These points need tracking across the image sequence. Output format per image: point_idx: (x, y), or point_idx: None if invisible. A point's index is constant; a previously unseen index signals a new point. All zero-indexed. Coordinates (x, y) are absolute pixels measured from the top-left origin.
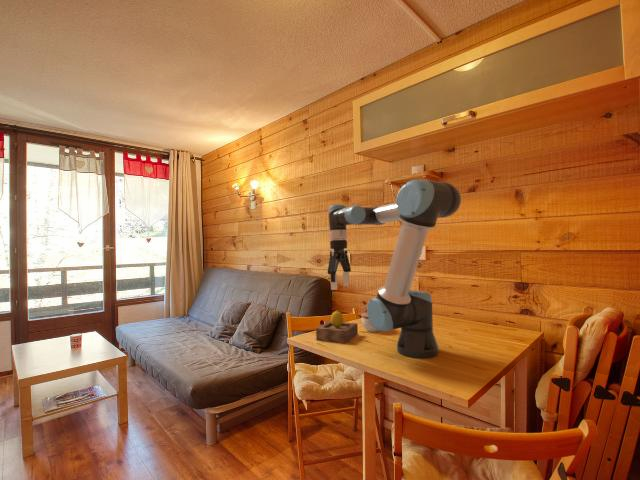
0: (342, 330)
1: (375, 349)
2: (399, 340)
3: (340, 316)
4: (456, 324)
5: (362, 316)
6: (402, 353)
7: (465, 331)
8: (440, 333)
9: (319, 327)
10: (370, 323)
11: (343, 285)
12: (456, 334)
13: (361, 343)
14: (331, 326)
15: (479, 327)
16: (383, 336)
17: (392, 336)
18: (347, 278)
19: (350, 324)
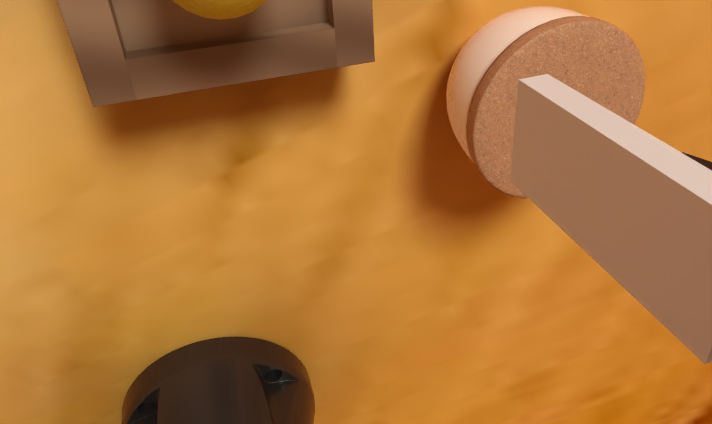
0: (90, 73)
1: (121, 270)
2: (159, 412)
3: (202, 15)
4: None
5: (499, 61)
6: (128, 394)
7: (579, 400)
8: (527, 355)
9: None
10: (453, 119)
11: (526, 86)
12: (527, 396)
13: (174, 154)
14: None
15: (645, 408)
16: (384, 189)
17: (403, 226)
18: (597, 243)
19: (331, 15)
